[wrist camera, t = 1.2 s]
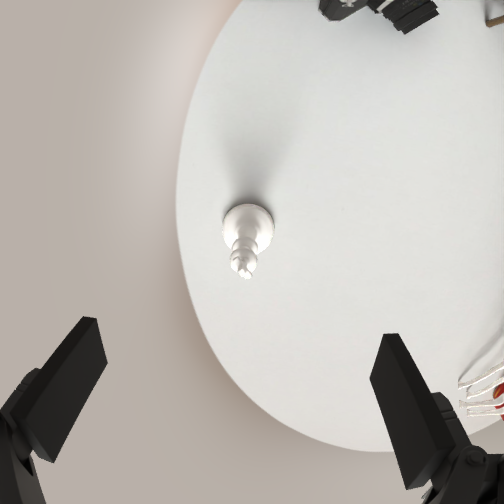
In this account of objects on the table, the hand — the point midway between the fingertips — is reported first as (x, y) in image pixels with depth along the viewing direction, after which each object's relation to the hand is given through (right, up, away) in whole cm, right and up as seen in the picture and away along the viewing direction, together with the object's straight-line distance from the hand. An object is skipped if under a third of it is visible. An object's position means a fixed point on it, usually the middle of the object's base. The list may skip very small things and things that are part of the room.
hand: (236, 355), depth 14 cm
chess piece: (0, +7, +17) cm, 19 cm away
